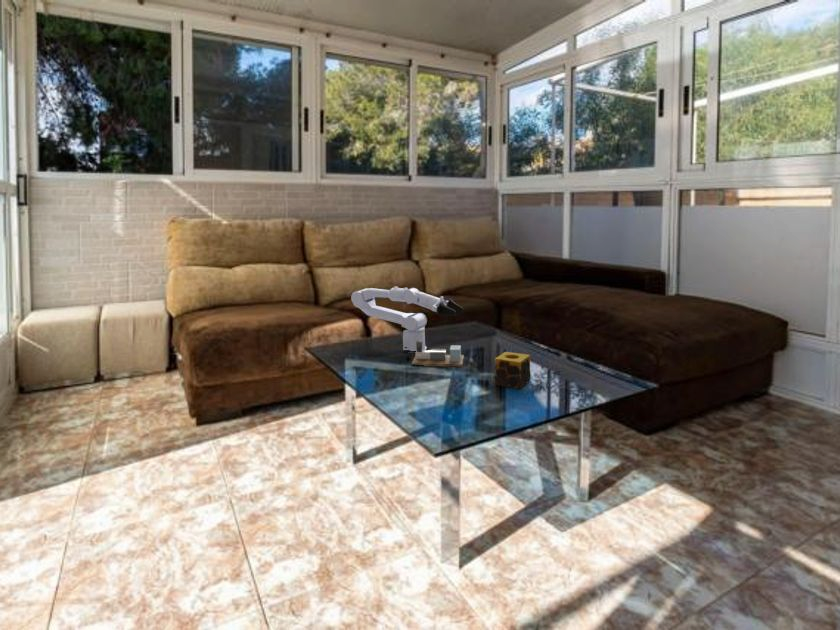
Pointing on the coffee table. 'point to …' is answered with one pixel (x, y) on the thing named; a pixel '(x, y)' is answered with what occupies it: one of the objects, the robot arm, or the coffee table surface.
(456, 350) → the block
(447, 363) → the guide board
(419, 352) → the bolt
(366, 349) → the coffee table surface
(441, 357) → the channel
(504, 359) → the candle
